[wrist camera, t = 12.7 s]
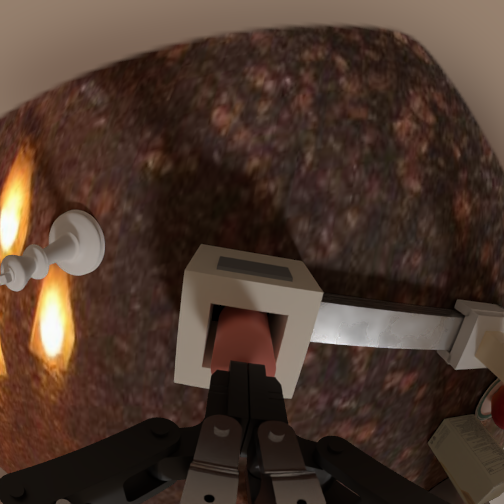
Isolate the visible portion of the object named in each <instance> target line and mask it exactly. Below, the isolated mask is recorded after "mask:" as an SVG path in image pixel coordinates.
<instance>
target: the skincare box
mask: <svg viewBox="0 0 504 504" xmlns="http://www.w3.org/2000/svg"><path fill="white" fill-rule="evenodd" d="M428 445H429V447H430V448H431V450H432V451H433V453H434V454H435V456H436V457H437V459H438V461H439V462H440V464H441V465H442V467H443V468H444V470H445V472H446V473H447V475H448V477H449V478H450V480H451V481H452V483H453V485H454V486H455V488H456V489H457V491H458V493H459V494H460V496H461V498H462V499H463V501H464V503H465V504H485V503H487V502H489V501H491V500H493V499H494V498H496V497H498V496H500V495H501V494H502V493H503V492H504V450H503V448H502V447H501V446H500V445H499V443H498V442H497V441H496V440H495V439H494V437H493V436H492V435H491V434H490V433H489V432H488V430H487V429H486V428H485V427H484V426H483V424H482V423H481V422H480V421H479V420H478V419H477V417H476V416H475V415H474V414H471V415H465V416H459V417H453V418H447V419H444V420H443V422H442V423H441V425H440V426H439V427H438V429H437V430H436V432H435V433H434V435H433V436H432V437H431V439H430V440H429V442H428Z"/></svg>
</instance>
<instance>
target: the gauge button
mask: <svg viewBox="0 0 504 504" xmlns="http://www.w3.org/2000/svg"><path fill="white" fill-rule="evenodd" d="M230 360H232V361H239V362H246V363H247V364H248V363H254V364H262V365H265V369H266V376H270V377H274V376H275V373H276V364H275V358H274V352H273V346H272V339H271V333H270V327H269V321H268V316H267V313H266V312H262V311H255V310H249V309H242V308H236V307H230V306H225V307H224V308H223V309H222V311H221V313H220V315H219V319H218V325H217V331H216V337H215V343H214V349H213V355H212V361H211V374H213V373H214V372H215V371H216V370H224V371H228V370H229V364H230Z"/></svg>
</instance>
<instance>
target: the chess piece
mask: <svg viewBox="0 0 504 504" xmlns="http://www.w3.org/2000/svg"><path fill="white" fill-rule="evenodd" d="M104 251H105V240H104V235H103V232H102V229H101V227H100V225H99V224H98V222H97V221H96V220H95V219H94V218H93V217H92V216H91V215H90V214H88V213H87V212H85V211H82V210H70V211H67V212H65V213H64V214H62V215H60V216H59V217H58V218H57V219H56V220H55V221H54V223H53V225H52V227H51V230H50V234H49V245H48V246H47V247H46V248H44V249H42V248H41V247H40V246H38V245H34V244H33V245H30V246H28V247H27V248H26V249H25V251H24V253H23V256H17V255H8V256H6V257H5V258H4V259H3V261H2V263H1V275H0V285H3V284H6V285H7V287H8V288H10V289H11V290H13V291H20V290H22V289H23V288H24V287H25V285H26V284H27V282H28V280H29V279H30V278H31V277H32V278H34V279H42V278H44V277H45V276H46V275H47V273H48V270H49V265H50V264H53V263H57V265H58V266H59V267H60V268H61V269H62V270H64V271H65V272H67V273H69V274H72V275H84V274H87V273H90V272H92V271H93V270H95V269H96V268H97V267H98V266H99V264H100V263H101V261H102V259H103V256H104Z"/></svg>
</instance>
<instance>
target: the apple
mask: <svg viewBox="0 0 504 504" xmlns="http://www.w3.org/2000/svg"><path fill="white" fill-rule="evenodd" d="M475 416H476V417H477V419H478V420H480V421H482V420H486V419H488V418H490V417H492V418H493V420H494V422H495V424H496V425H497V426H498V427H499V428H501V429H504V383H503V382H502V381H501V380H500V379H499V378H497V379H496V380H495V381H494V382H493V383H492V384H491V386H490V387H489V388H488V389H487V390H486V392H485V393H484V395H483V396H482V398H481V399H480V401H479V403H478V405H477V408H476V412H475Z"/></svg>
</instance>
